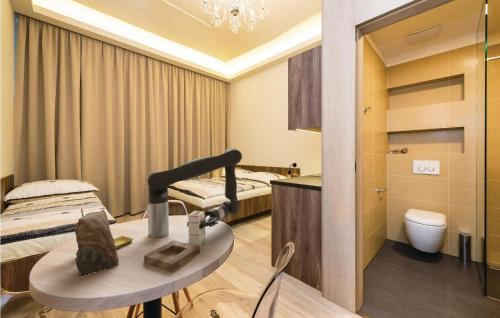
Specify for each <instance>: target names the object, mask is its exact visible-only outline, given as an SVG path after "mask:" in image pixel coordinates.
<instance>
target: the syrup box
mask: <svg viewBox="0 0 500 318" xmlns="http://www.w3.org/2000/svg"><path fill="white" fill-rule="evenodd" d="M204 214H205V211H204V210H193V211H192V212H191V213H189V214H188V215H187V222H188V226H189V227H188V242H189V243H188V244H192V245H196V246H202V244H204V242H205V241H206V227H204V228H202V229H199V224H201V223H203V222H205V217H204Z"/></svg>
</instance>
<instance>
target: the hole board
mask: <svg viewBox="0 0 500 318" xmlns="http://www.w3.org/2000/svg"><path fill="white" fill-rule="evenodd" d="M200 249H201V247H200V246H196V245H192V244H189V243H188V242H183V241H179V240H174V239H173V240H170V241H169V242H166V243H165V244H163V245H162V246H159V247H158V248H156V249H153V250H152V251H150V252H148V253H146V254H144V255H143V263H144V264H147V265H149V266H153V267H155V268H158V269H162V270H164V271H168V272H171V273H174V272H175V271H177V270H179V268H181V267H182V266H184V265H185V264H186V263H188V262H190V261H191V260H193V259H194V258H195V257H197V256H198V255H200V253H201V250H200ZM171 253H177V254H176V255H174V256H173V257H172V256H169V255H170V254H171Z"/></svg>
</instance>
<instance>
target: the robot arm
mask: <svg viewBox="0 0 500 318" xmlns="http://www.w3.org/2000/svg"><path fill="white" fill-rule="evenodd" d="M242 158H243V154H242V152H241V151H240V150H238V149H237V148H232V147H230V148H227V149H226V150H224V152H223V153H221V154H218V155H213V156H207V157H199V158H196V159H192V160H190V161H187V162H185V163H183V164H180V165H179V166H177V167H174V168H172V169H171V168H170V169H166V170H163V171H162V170H156V171H153V172H151V173H150V175H149V176H148V178H147V185H148V217H147V227H148V236H149V237H150V238H162V237H165V236H168V235H169V234H170V227H169V226H170V223H169V222H170V221H169V190H168V189H169V188H168V187H169V186H171V185H173V184H175V183H178V182H183V181H186V180H190V179H194V178H198V177H200V176H203V175H206V174H208V173H211V172H214V171H217V170H218V169H222V168H224V172H225V173H224V175H225V176H224V177H225V181H224V182H225V183H224V185H225V186H224V197H225V198H226V199H228V200H229V201H228V200H225V201H223V202H222V203H221V204H220V205H219V206H216V207H212V208H210V209H208V210H206V211H204V217H205V222H203V223H201V224H199V229H202V228H204V227H205V228H208V227H210V228H212V227H214V226H216V225H218V224H219V222H220V221H222V220H223V219H224V218H226V217H227V216H228V215H229V214H231V215H236V214H238V212H239V209H240V205H239V201H238V200H239V199H238V196H237V195H238V194H237V193H238V192H237V191H238V190H237V189H238V187H237V186H238V184H237V175H236V165H237V164H239V163H240V162H241V161H242ZM186 227H188V228H189V226H188V221H187V222H186Z"/></svg>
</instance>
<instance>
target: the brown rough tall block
mask: <svg viewBox="0 0 500 318" xmlns="http://www.w3.org/2000/svg"><path fill="white" fill-rule="evenodd" d="M107 215H108V214H107V212H106V210H105V209H102V210H100V211H95V212H94V211H93V212H88V213H86V214H85V215H84V216H83V217H82V216H81V217H80V218H78V219H77V220H78V221H79V224H78V226H77V230H76V234H75V238H76V244H77V248H78V249H77V251H76V253H75V255H76V258H75V260H74V261H75V266H76V268H77V270H78V271H79V273H80V277H81V276H84V277H86V276H85V275H87V276H89V275H88V274H90V275H92V274H91V273H93V274H95V273H94V272H97V273H99V272H101V271H100V270H102V271H104V269H105V270H109V269H112V268H114V267H117V266H119V256H118V254H117V248H116V247H115V244H114V239H115V238H114V237H113V235H112V231H111V228H110V223H109V218H108V216H107ZM78 221H77V222H78ZM111 267H112V268H111ZM98 271H99V272H98Z"/></svg>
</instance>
